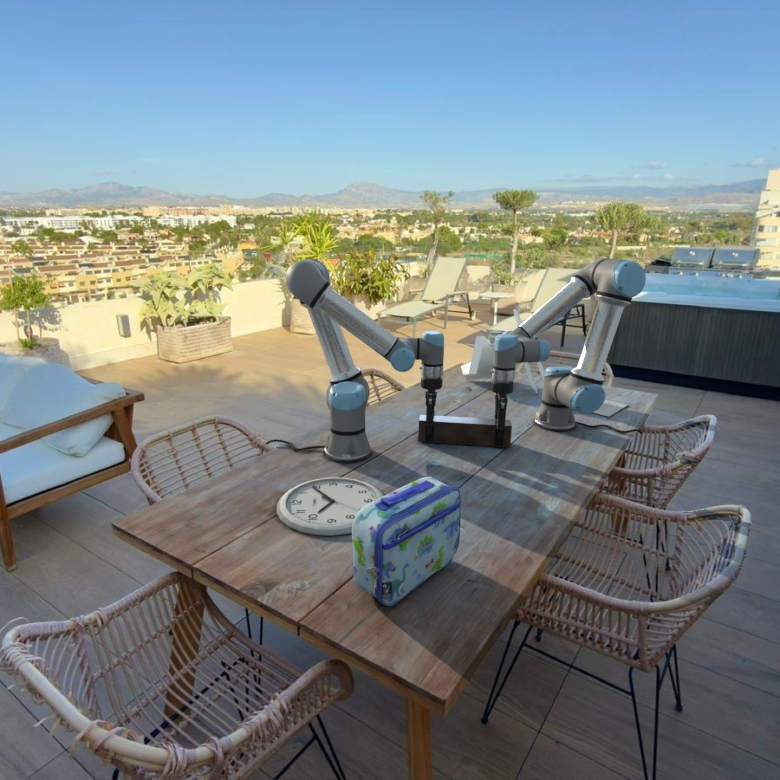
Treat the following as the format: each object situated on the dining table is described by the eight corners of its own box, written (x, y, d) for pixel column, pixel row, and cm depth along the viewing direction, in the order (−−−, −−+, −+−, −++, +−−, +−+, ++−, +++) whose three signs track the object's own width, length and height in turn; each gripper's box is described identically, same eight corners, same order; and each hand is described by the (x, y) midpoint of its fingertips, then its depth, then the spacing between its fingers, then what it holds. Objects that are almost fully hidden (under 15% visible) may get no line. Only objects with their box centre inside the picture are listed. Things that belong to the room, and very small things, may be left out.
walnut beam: (508, 440, 187) (510, 420, 185) (509, 447, 182) (512, 426, 179) (419, 435, 191) (420, 414, 188) (418, 441, 185) (418, 420, 183)
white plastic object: (482, 422, 260) (461, 399, 236) (463, 348, 283) (442, 320, 258) (555, 398, 248) (541, 371, 224) (529, 323, 270) (514, 291, 246)
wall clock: (392, 527, 129) (268, 531, 127) (391, 533, 130) (269, 537, 127) (383, 473, 158) (282, 475, 155) (383, 478, 158) (282, 480, 156)
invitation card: (608, 416, 214) (573, 407, 224) (608, 416, 214) (573, 408, 224) (628, 404, 229) (594, 396, 238) (628, 405, 229) (594, 397, 238)
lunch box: (381, 619, 101) (382, 525, 95) (345, 592, 109) (344, 503, 102) (464, 563, 119) (469, 480, 113) (428, 543, 126) (432, 464, 120)
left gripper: (422, 368, 190) (420, 428, 197) (419, 383, 172) (417, 448, 179) (443, 369, 189) (440, 429, 196) (442, 384, 171) (439, 449, 178)
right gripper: (489, 372, 187) (485, 432, 194) (493, 387, 169) (488, 453, 176) (511, 373, 187) (506, 433, 193) (517, 389, 169) (511, 454, 175)
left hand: (429, 438), depth 187 cm, fingers closed on walnut beam, 6 cm apart
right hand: (497, 442), depth 185 cm, fingers closed on walnut beam, 6 cm apart
